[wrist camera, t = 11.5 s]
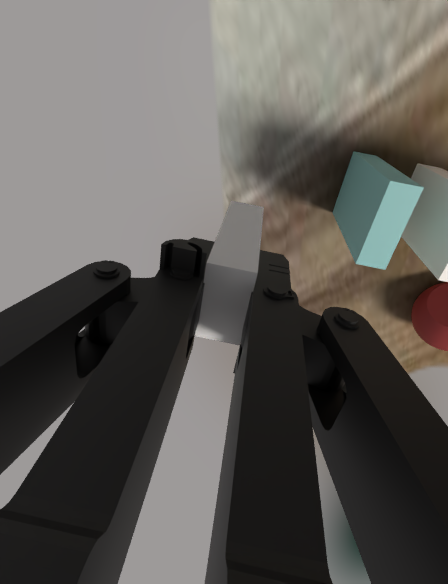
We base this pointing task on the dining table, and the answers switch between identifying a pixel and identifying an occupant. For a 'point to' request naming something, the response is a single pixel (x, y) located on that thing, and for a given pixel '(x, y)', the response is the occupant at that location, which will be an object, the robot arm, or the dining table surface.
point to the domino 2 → (430, 220)
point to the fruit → (432, 316)
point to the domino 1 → (374, 208)
